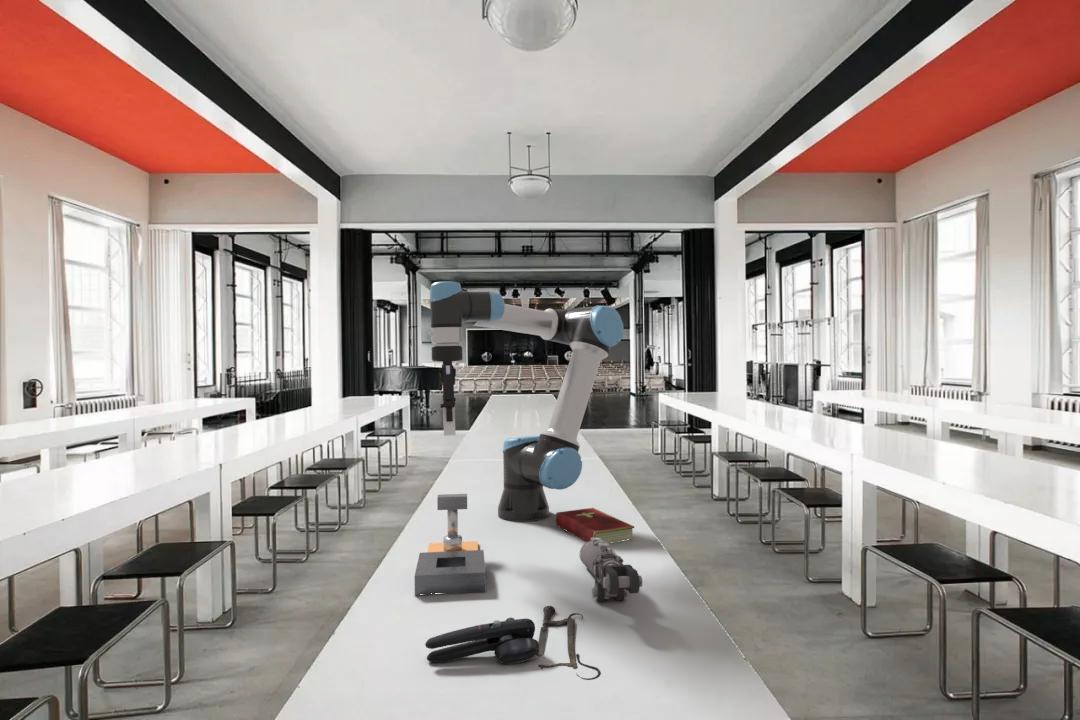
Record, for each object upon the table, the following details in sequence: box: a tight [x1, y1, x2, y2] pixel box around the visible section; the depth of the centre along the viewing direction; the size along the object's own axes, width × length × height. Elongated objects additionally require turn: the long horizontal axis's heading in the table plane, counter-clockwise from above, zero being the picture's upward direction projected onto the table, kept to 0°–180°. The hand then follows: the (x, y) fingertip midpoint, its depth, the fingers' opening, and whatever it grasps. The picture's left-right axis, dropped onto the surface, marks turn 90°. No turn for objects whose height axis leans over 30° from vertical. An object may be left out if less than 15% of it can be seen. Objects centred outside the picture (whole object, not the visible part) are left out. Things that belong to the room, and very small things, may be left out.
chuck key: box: [436, 493, 468, 552], centre depth 148 cm, size 7×4×13 cm, turn 97°
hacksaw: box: [535, 605, 601, 681], centre depth 103 cm, size 24×10×2 cm, turn 176°
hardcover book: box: [555, 507, 635, 544], centre depth 164 cm, size 12×21×4 cm, turn 25°
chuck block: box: [414, 549, 487, 596], centre depth 130 cm, size 14×14×4 cm
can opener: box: [424, 617, 539, 665], centre depth 97 cm, size 18×7×6 cm, turn 99°
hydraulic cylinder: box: [578, 538, 644, 602], centre depth 124 cm, size 7×37×10 cm, turn 6°
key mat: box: [426, 540, 479, 552], centre depth 148 cm, size 12×12×1 cm
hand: (449, 431), depth 152 cm, fingers open, 13 cm apart
